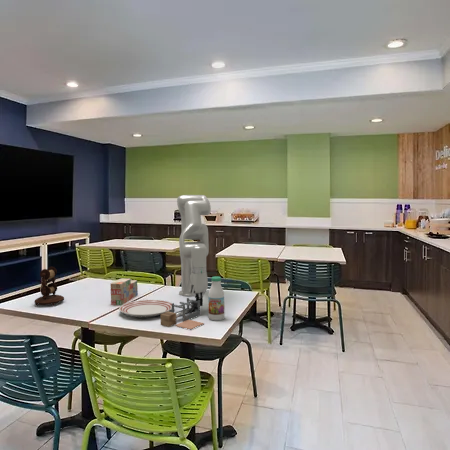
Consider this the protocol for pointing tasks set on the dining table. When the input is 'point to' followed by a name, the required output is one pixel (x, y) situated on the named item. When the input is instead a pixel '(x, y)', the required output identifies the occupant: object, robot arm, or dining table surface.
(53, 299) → the wooden spool stand
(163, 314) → the cube
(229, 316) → the dining table surface
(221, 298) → the milk bottle
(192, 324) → the coaster
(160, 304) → the dinner plate
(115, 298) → the stack of blocks
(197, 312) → the cage
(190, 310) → the plunger
